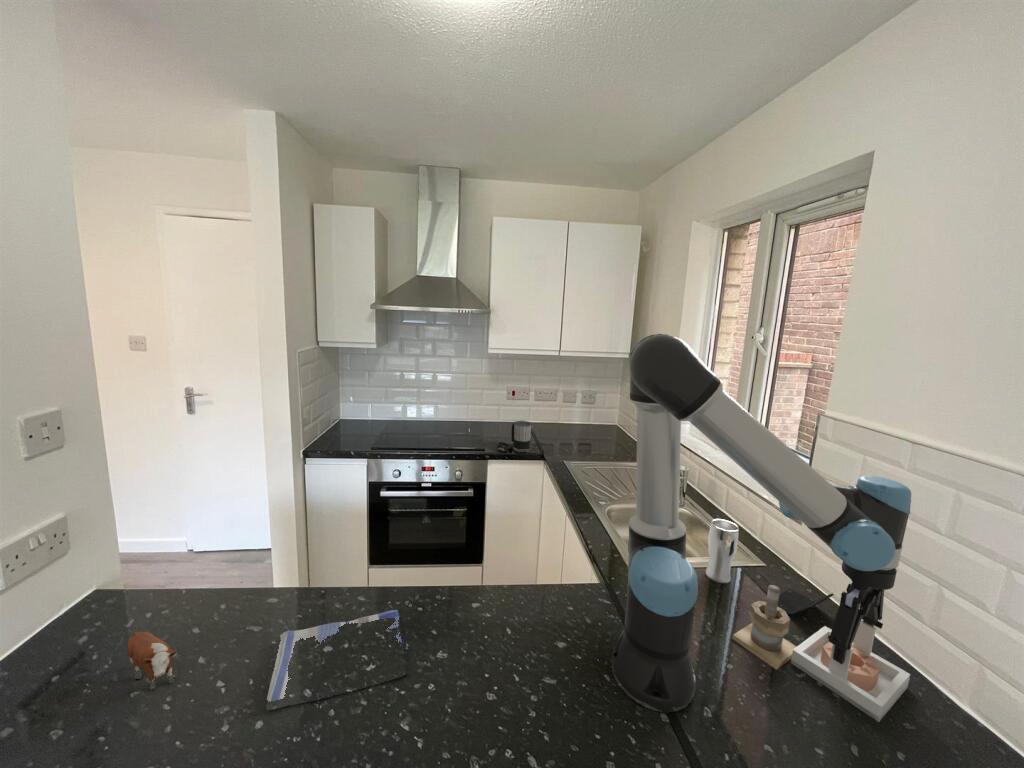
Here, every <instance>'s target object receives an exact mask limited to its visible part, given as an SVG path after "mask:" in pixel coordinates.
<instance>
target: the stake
mask: <svg viewBox="0 0 1024 768" xmlns="http://www.w3.org/2000/svg"><path fill="white" fill-rule="evenodd" d="M780 592H781V589H780V588H779V586H777V585H773V584H768V587H767V595H766V601H765V602H766V606H765V612H764V614H765V615H766V616H768V617H770V618H776V611H777V605H778V599H779V594H781V593H780ZM732 640H733V641H734V642H737V643H738V644H739V645H741V646H742V647H743V648H745V649H746V650H748V651H749V652H750V653H752V654H753V655H755V656H757V658H759V659H760V660H762V661H763V662H765V663H766V664H767V665H769V666H770V667H772V668H773V669H774V670H778V669H780V668H781V667H782V666H784V665H785V664H786V663H788V662H789V661H791V658H792V652H793V649H795V648H796V647H797V646H798V645H795V644H793V643H791V641H789V640H787V639H785V638H784V636H782V637H778V636H773V635H768V634H766V633H764V632H763V631H761V630H760V629H758V628H757V627H755V626H754V625H753V623H752V622H751V623H749V624H748V625H746V626H745V627H743V628H742V629H740V630H739V631H738V630H737V632H735V633H734V634H732Z"/></svg>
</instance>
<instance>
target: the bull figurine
mask: <svg viewBox="0 0 1024 768" xmlns="http://www.w3.org/2000/svg"><path fill="white" fill-rule="evenodd" d="M126 649H127V655H128V656H129V661H130V663H132V667H133V668H134V671H135V670H136V671H138V670H139V669H140V670H141V669H142V670H144V672H145V673H146V676H147V678H148V679H149V683H150V682H153V681H154V680H155V678H158V677H159V678H160V677H161V676H163V675H164V674H165V673H166V675H167V677H168V676H171V675H173V673H172V672H173V668H172V661H173V659H174V655H176V654H177V653H178V652H179V650H178V649H174V650H172V648H171V647H170V645H169V644H168V643H167V642H166V641H164V640H162V639H161V638H159V637H156V636H155V635H154V634H152V633H150V632H148V631H135V632H134V633H133V635H132V636H131V637H130V638H129V639H128V641H127V645H126Z"/></svg>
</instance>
